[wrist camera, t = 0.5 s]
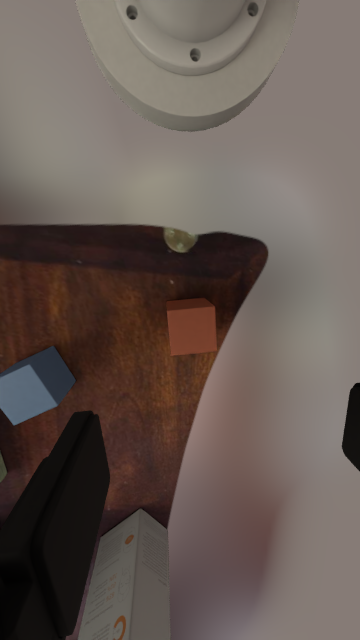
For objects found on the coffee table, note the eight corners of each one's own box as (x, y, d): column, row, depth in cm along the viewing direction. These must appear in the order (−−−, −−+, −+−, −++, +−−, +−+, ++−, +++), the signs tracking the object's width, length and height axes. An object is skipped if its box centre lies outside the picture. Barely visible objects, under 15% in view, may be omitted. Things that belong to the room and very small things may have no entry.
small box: (129, 557, 35) (109, 723, 22) (99, 536, 34) (61, 700, 21) (169, 529, 34) (173, 685, 22) (141, 506, 33) (127, 657, 20)
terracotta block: (166, 301, 26) (167, 310, 21) (204, 297, 26) (215, 306, 21) (169, 337, 27) (171, 356, 22) (206, 334, 27) (216, 351, 22)
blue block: (15, 363, 26) (-18, 385, 22) (53, 345, 26) (29, 364, 21) (39, 397, 28) (13, 425, 23) (76, 380, 28) (58, 405, 23)
